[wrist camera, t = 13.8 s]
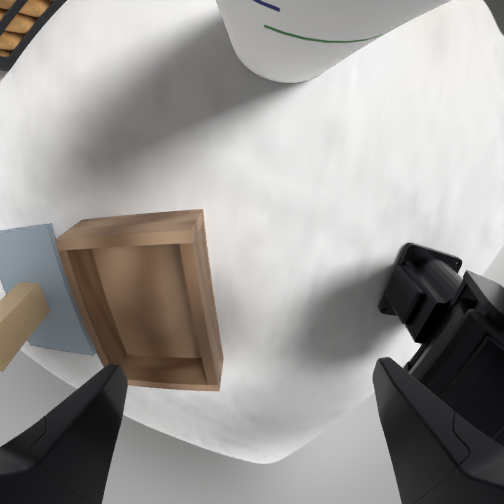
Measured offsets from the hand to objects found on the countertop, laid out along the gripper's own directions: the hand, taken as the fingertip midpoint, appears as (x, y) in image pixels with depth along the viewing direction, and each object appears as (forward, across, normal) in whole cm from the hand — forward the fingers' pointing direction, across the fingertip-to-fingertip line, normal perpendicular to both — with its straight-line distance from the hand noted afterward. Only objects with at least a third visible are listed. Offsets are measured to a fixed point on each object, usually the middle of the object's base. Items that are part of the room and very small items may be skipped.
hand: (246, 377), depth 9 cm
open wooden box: (+13, +8, +5) cm, 16 cm away
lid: (+13, +22, +5) cm, 26 cm away
